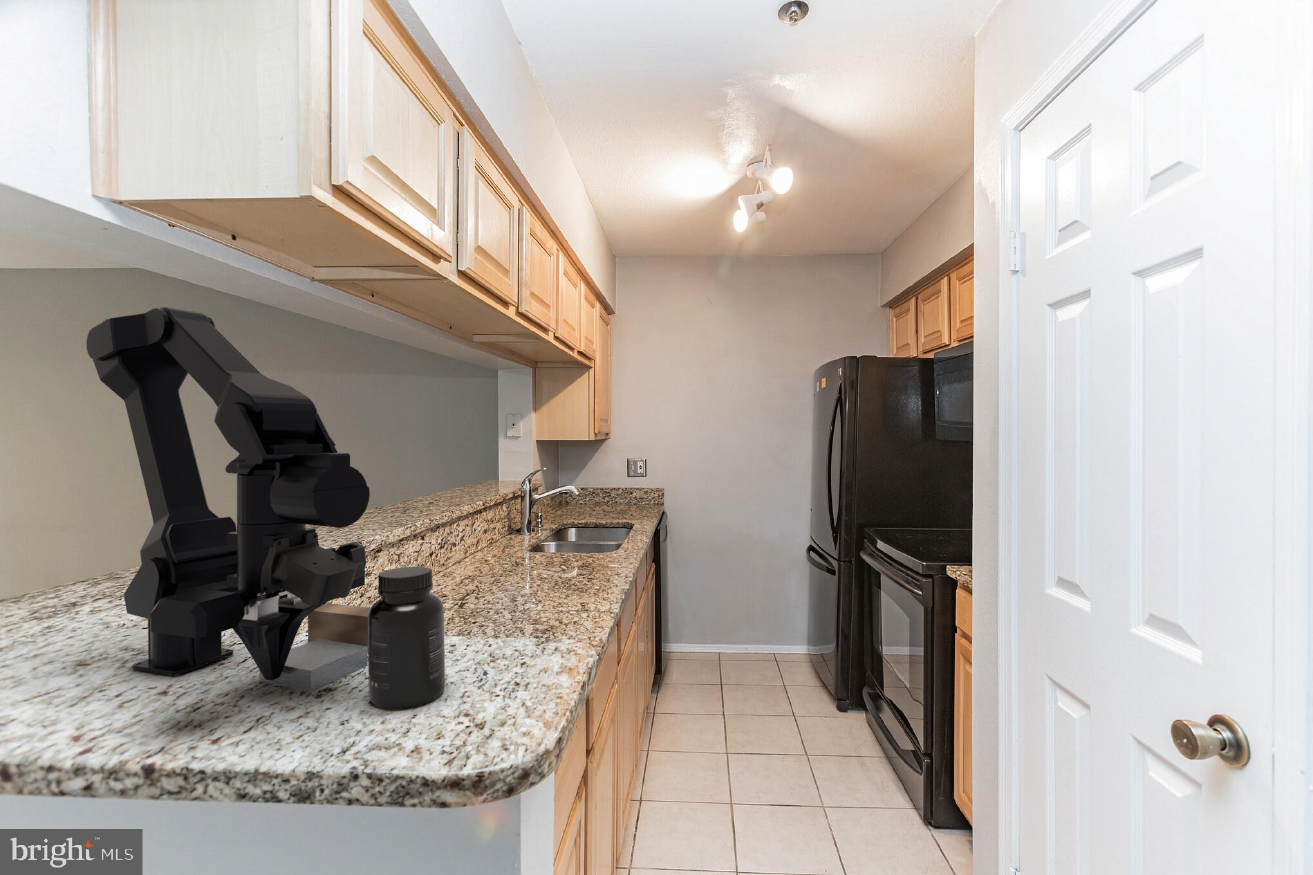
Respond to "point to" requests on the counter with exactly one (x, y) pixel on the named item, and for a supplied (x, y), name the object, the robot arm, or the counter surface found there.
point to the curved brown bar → (339, 624)
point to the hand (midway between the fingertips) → (272, 678)
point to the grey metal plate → (320, 664)
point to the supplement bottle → (405, 640)
